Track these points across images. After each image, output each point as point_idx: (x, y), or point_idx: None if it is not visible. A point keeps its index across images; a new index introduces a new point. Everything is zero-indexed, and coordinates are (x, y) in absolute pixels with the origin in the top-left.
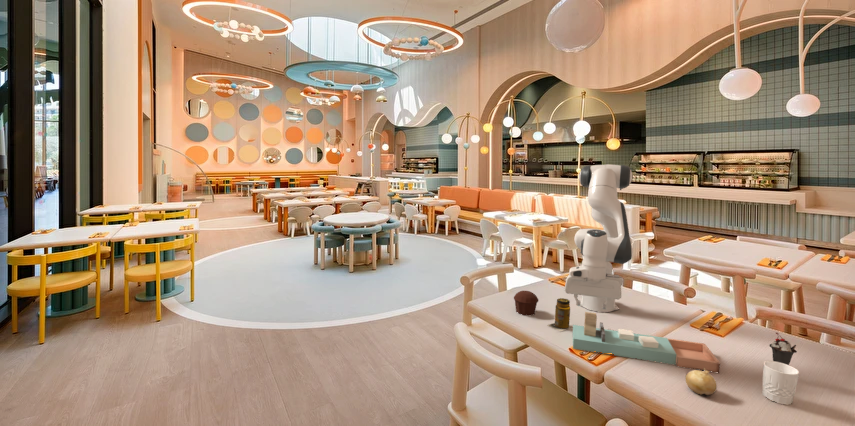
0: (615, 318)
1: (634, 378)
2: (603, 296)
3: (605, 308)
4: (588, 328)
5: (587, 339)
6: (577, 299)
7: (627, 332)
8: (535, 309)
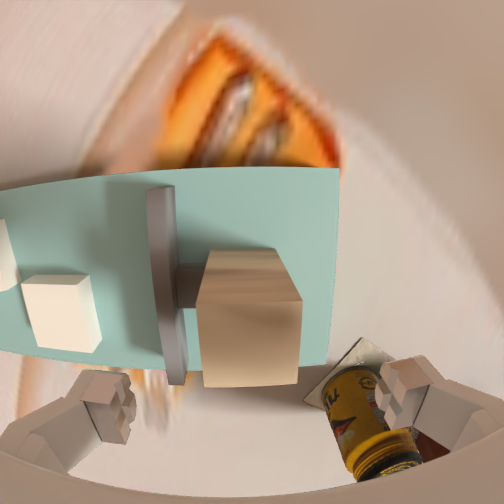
0: (154, 488)
1: (88, 12)
2: (50, 488)
3: (94, 371)
4: (257, 262)
5: (259, 186)
6: (443, 407)
7: (48, 315)
8: (427, 440)
